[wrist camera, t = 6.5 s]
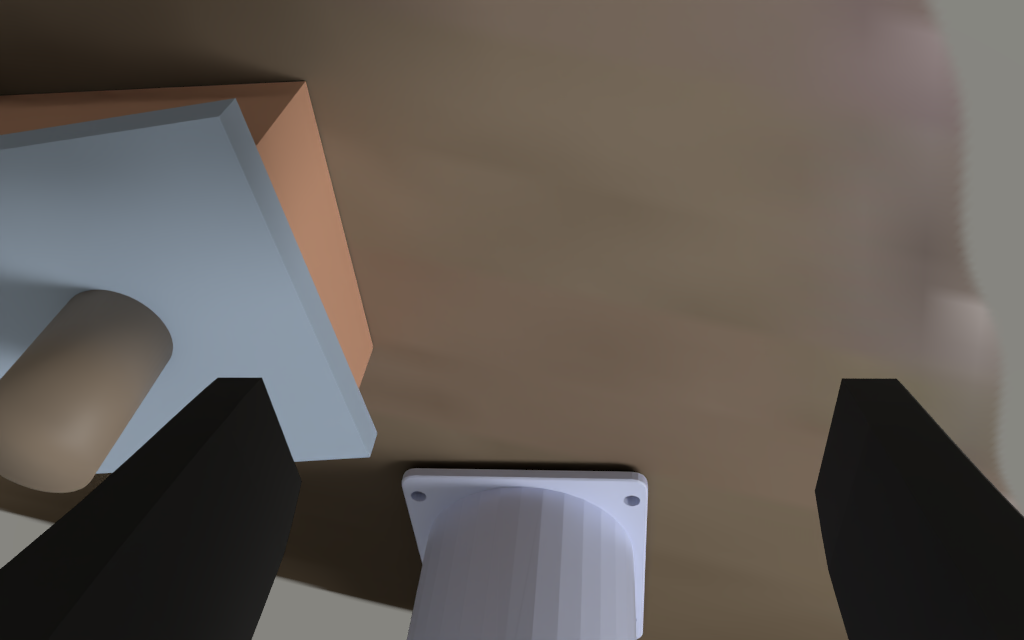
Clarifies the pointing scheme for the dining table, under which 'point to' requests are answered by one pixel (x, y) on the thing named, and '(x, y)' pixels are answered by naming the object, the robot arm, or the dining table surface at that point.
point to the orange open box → (287, 159)
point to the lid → (153, 295)
